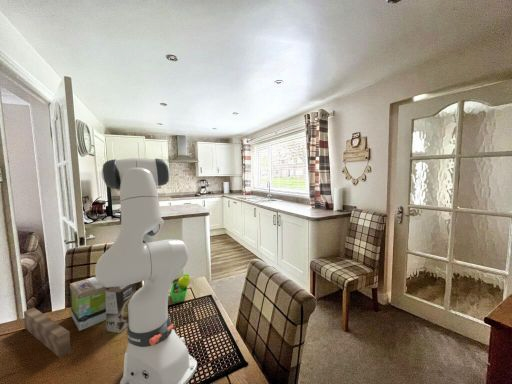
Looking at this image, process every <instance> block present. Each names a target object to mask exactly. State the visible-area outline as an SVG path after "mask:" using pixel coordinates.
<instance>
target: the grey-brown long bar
mask: <svg viewBox="0 0 512 384" xmlns="http://www.w3.org/2000/svg"><path fill="white" fill-rule="evenodd" d="M23 321H24V330H26V331H27V332H28V333H29V334H31V336H33V337H35V338H36V339H37V340H38V341H39V342H40V343H41V344H43V345H44V346H45V347H47V348H48V349H49V350H50V351H51V352H52V353H54V354H55V355H56V356H57V357H58V358H61V357H63V356H64V355H66V354H67V353H70V352H71V335H70V331H69V330H67V328H65V327H64V326H62V325H60V324H59V323H58V322H56V321H55V320H53V319H52V318H50V317H48V315H45V313H43V312H41V310H38V309H37V308H35V307H32V308H30V309H27V310H25V311H23Z"/></svg>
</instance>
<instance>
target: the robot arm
mask: <svg viewBox="0 0 512 384" xmlns="http://www.w3.org/2000/svg"><path fill="white" fill-rule="evenodd" d="M101 178H102V180H103V182H104V184H105V186H107V187H108V188H110V189H114V190H119V198H120V199H119V200H120V214H119V223H120V229H119V233H118V235H117V237H116V239H115V241H114V242H113V244H112V245H111V246H110V247H109V248H108V249H107V250H106V251H105V252H104V253H103V254H101V256H100V257H99V258H98V260H97V262H96V264H95V267H94V275H95V277H96V278H97V280H98V282H99V283H100V284H101V285H102V286H104V287H106V288H112V287H120V286H126V285H130V284H134V283H136V284H137V283H140V282H144V281H146V282H145V283H144V284H143V286H142V287H140V288H138V290H136V292H135V293H134V294H133V296H132V297H131V299H130V301H129V303H128V319H129V324H128V326H127V327H126V329H127V330H126V337H127V341H128V343H127V348H126V349H125V353H124V357H123V358H124V359H123V361H124V362H123V375H122V378H121V379H120V382H119V384H187V383H189V381H190V380H191V379H192V377H193V376H194V375H195V372H196V371H197V367H198V361H197V360H196V359H195V358H194V357H193V356H192V355H191V354H189V350H188V347H187V345H186V339H185V337H184V336H181V337H179V335H178V333H176V330H174V327H175V326H174V325H175V323H172V321H171V318H170V316H169V312H168V311H169V309H168V306H169V305H168V304H169V295H170V291H171V288H172V285H173V283H174V280H175V278H176V277H177V275H178V274H179V273H180V272H181V271H182V270H183V269H184V268H185V267H186V265H187V263H188V261H189V255H190V253H189V249H188V246H187V245H186V243H185V242H184V241H183V240H181V239H162V240H157V241H154V239H156V237H157V236H158V235H159V233H160V232H161V230H162V228H163V227H164V224H165V221H164V219H163V218H162V214H161V207H160V200H159V193H158V188H157V187H161V186H164V185H167V184H168V182H169V181H170V178H171V169H170V166H169V165H168V162H167V161H165V160H164V159H161V158H136V157H132V158H122V159H115V158H114V159H111V160H110V159H109V160H107V161H105V162H104V163H103V165H102V169H101Z"/></svg>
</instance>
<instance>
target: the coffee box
mask: <svg viewBox="0 0 512 384" xmlns="http://www.w3.org/2000/svg"><path fill="white" fill-rule="evenodd" d="M136 285H137V283H134V284H130V285H126V286H120V287H109V289H107V290H106V291H105V294H106V320H105V322H106V331H107V332H111V333H112V332H113V333H118V334H119V333H122V332H123V331H124V330H125V329H127V327H128V324H129V319H128V303H129V301H130V299H131V297H132V296H133V294H134V293H135V292H136V291H137V290H136Z"/></svg>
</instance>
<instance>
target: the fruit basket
mask: <svg viewBox="0 0 512 384" xmlns="http://www.w3.org/2000/svg"><path fill="white" fill-rule="evenodd" d="M190 279H191V277H190V274H188V273H185V274H183V276H181V277H180V278H178V281H177V282H172V284H171V287H170V290H169V295H170V296H171V301H172V302H173V303H179V302H184V301H186V299H185V298H186V295H187V291H188V287H189V284H190Z"/></svg>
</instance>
